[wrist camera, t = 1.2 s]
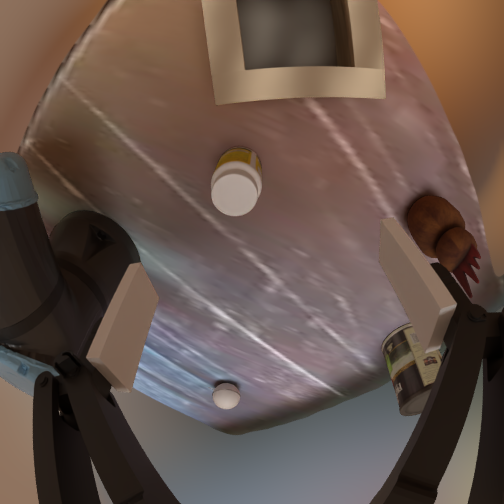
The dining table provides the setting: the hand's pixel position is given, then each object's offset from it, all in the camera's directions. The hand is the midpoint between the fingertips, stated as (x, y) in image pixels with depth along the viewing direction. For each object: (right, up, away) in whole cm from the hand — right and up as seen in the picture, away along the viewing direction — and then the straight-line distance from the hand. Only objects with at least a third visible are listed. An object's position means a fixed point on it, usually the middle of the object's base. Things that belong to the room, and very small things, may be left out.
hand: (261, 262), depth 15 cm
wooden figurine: (+22, +6, +18) cm, 29 cm away
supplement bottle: (-2, +10, +16) cm, 19 cm away
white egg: (-6, -26, +41) cm, 49 cm away
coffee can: (+29, -16, +33) cm, 47 cm away
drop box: (+3, +22, +8) cm, 24 cm away
